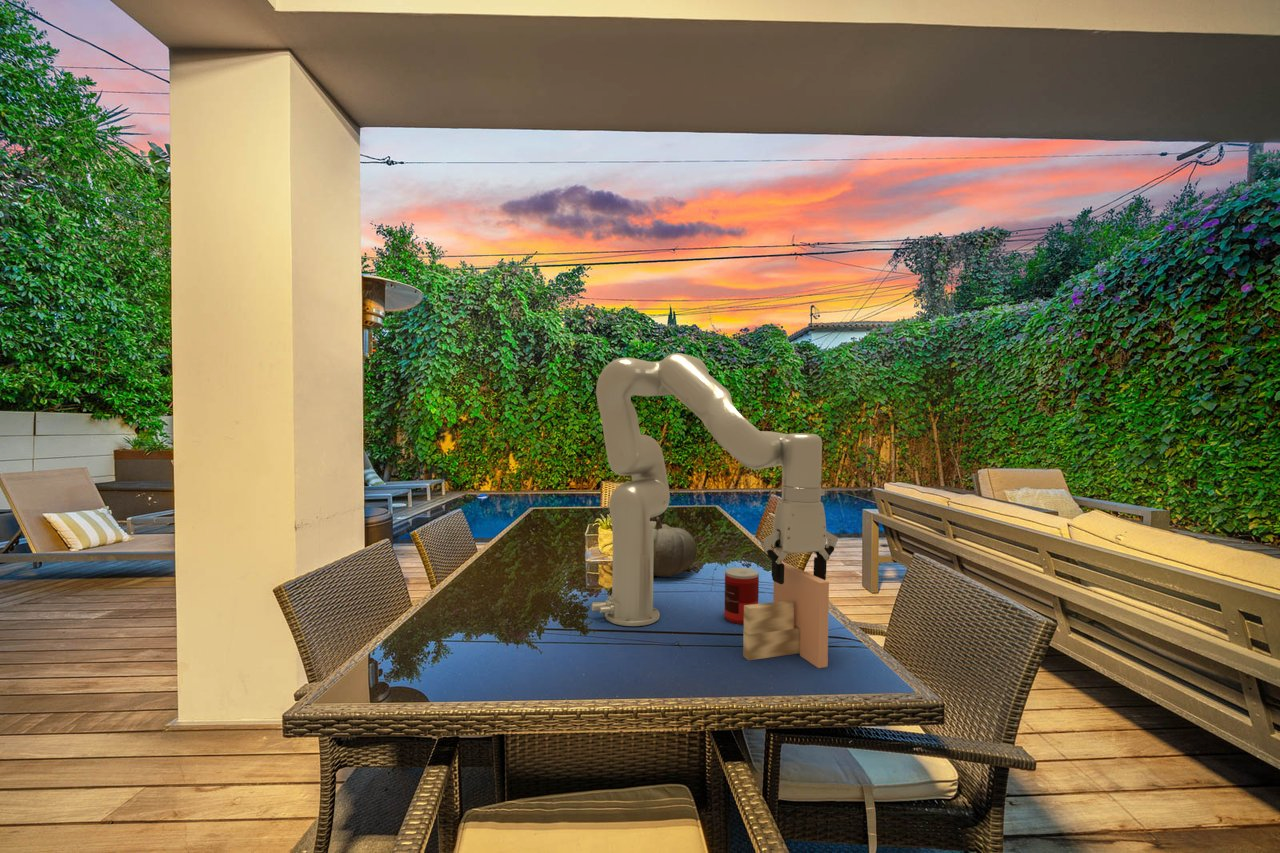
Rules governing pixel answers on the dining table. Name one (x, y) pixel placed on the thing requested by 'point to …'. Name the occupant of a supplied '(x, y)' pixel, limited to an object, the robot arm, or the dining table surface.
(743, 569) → the canned food
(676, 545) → the gourd
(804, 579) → the terracotta plate
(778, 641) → the oak board
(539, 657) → the dining table surface
